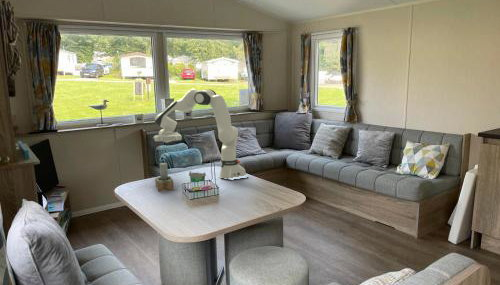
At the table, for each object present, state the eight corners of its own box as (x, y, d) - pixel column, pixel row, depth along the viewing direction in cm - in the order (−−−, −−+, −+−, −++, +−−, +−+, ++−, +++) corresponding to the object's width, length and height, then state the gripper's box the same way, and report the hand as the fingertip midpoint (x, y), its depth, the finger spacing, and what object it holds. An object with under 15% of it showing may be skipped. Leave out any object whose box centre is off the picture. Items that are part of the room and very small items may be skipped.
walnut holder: (170, 184, 263) (169, 175, 262) (173, 189, 250) (173, 180, 249) (155, 185, 259) (155, 176, 258) (158, 191, 246) (158, 182, 245)
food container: (186, 187, 257) (185, 173, 255) (190, 184, 262) (189, 171, 261) (202, 188, 253) (202, 174, 251) (205, 186, 259) (205, 172, 257)
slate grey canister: (167, 179, 257) (166, 162, 255) (168, 181, 252) (167, 164, 250) (160, 180, 255) (159, 163, 253) (161, 182, 251) (160, 164, 248)
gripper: (152, 133, 280) (155, 135, 267) (179, 131, 287) (183, 134, 275) (152, 141, 281) (155, 144, 268) (179, 139, 288) (183, 142, 276)
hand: (169, 139), depth 271 cm, fingers open, 8 cm apart
